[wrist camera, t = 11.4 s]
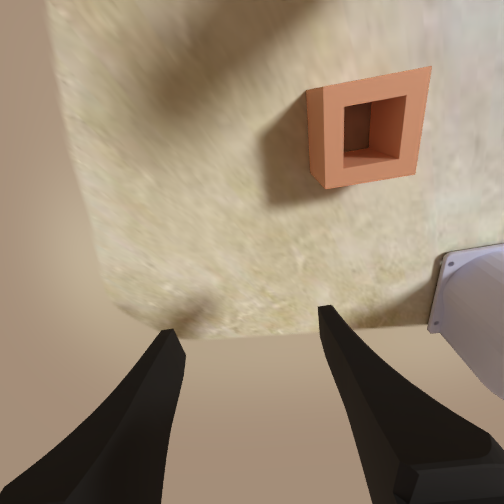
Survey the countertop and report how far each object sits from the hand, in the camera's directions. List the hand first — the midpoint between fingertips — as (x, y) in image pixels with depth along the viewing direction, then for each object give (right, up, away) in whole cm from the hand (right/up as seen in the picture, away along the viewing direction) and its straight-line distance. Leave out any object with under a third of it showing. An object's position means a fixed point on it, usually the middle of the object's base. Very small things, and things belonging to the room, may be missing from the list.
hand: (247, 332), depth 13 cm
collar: (+6, +12, +4) cm, 14 cm away
